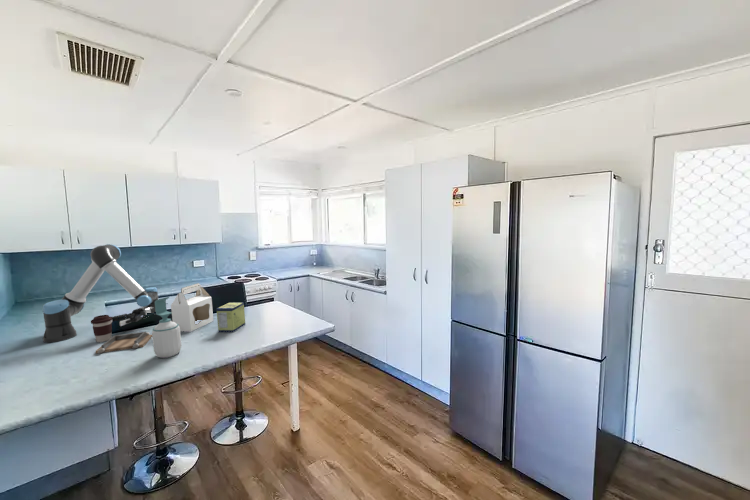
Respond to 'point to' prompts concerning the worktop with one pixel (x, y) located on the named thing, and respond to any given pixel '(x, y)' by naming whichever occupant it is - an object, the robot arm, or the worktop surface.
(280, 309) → the worktop surface
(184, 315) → the gable box
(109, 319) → the coffee cup
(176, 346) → the soap bottle
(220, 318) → the protein box
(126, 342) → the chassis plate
